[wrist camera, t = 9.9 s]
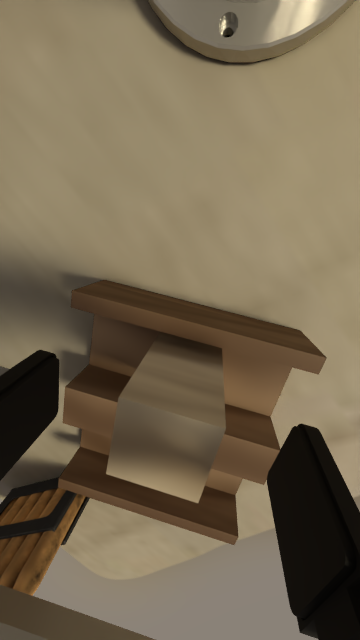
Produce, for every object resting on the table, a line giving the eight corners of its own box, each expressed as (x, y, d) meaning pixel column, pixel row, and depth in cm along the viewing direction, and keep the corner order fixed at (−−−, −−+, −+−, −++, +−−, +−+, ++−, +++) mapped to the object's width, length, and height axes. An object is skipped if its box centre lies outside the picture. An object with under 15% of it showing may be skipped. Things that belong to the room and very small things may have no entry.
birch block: (164, 325, 16) (118, 397, 9) (221, 340, 16) (225, 428, 8) (153, 374, 17) (105, 473, 10) (206, 389, 17) (198, 503, 10)
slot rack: (104, 280, 17) (72, 290, 13) (300, 330, 16) (326, 358, 12) (85, 445, 22) (58, 487, 18) (231, 491, 21) (234, 545, 17)
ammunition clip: (21, 501, 26) (-126, 694, 15) (11, 489, 26) (-147, 678, 15) (98, 483, 24) (-12, 703, 12) (88, 469, 23) (-34, 684, 12)
